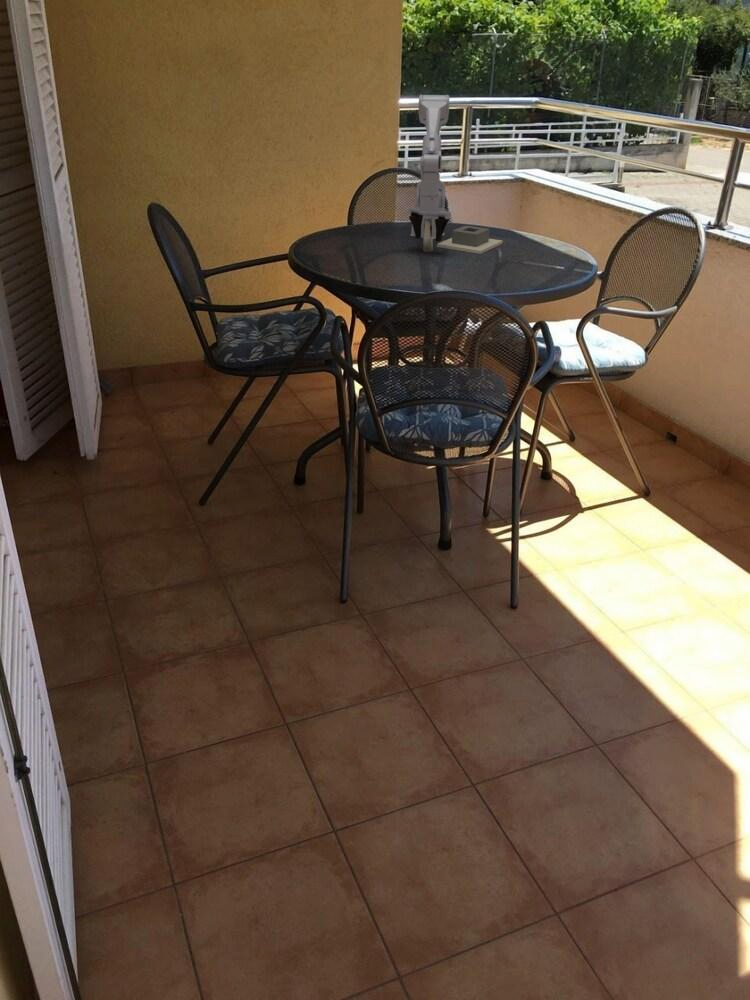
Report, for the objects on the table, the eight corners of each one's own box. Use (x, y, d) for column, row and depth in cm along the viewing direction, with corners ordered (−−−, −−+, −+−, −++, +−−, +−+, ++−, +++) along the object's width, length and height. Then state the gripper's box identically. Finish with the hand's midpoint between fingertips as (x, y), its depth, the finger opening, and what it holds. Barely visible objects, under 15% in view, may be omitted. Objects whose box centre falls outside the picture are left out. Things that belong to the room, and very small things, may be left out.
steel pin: (421, 251, 269) (422, 219, 263) (426, 249, 271) (426, 217, 265) (429, 252, 267) (430, 220, 262) (434, 250, 269) (435, 218, 264)
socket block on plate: (437, 246, 273) (437, 231, 271) (460, 237, 285) (461, 222, 282) (480, 254, 266) (481, 238, 263) (502, 243, 277) (503, 228, 275)
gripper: (403, 194, 261) (402, 238, 268) (443, 199, 254) (441, 244, 261) (415, 191, 266) (413, 234, 273) (454, 196, 259) (452, 240, 266)
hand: (428, 239), depth 267 cm, fingers open, 7 cm apart
